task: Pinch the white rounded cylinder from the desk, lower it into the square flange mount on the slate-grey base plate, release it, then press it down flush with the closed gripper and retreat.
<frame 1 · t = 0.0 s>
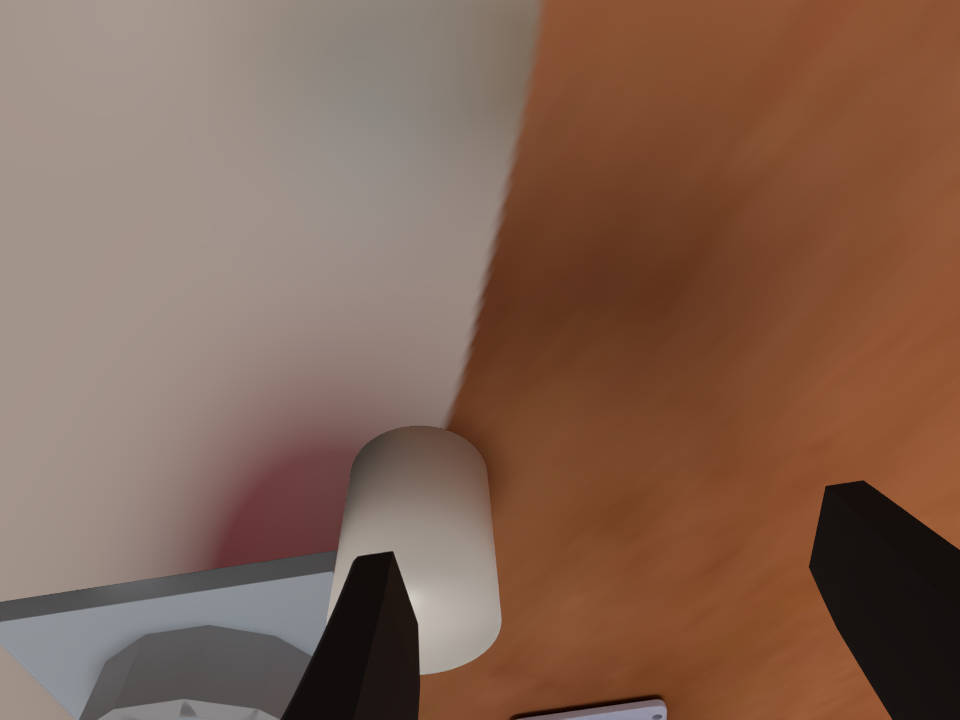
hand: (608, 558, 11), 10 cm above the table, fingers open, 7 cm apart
white rounded cylinder: (419, 479, 23), on the table
square flange mount: (229, 673, 29), on the table
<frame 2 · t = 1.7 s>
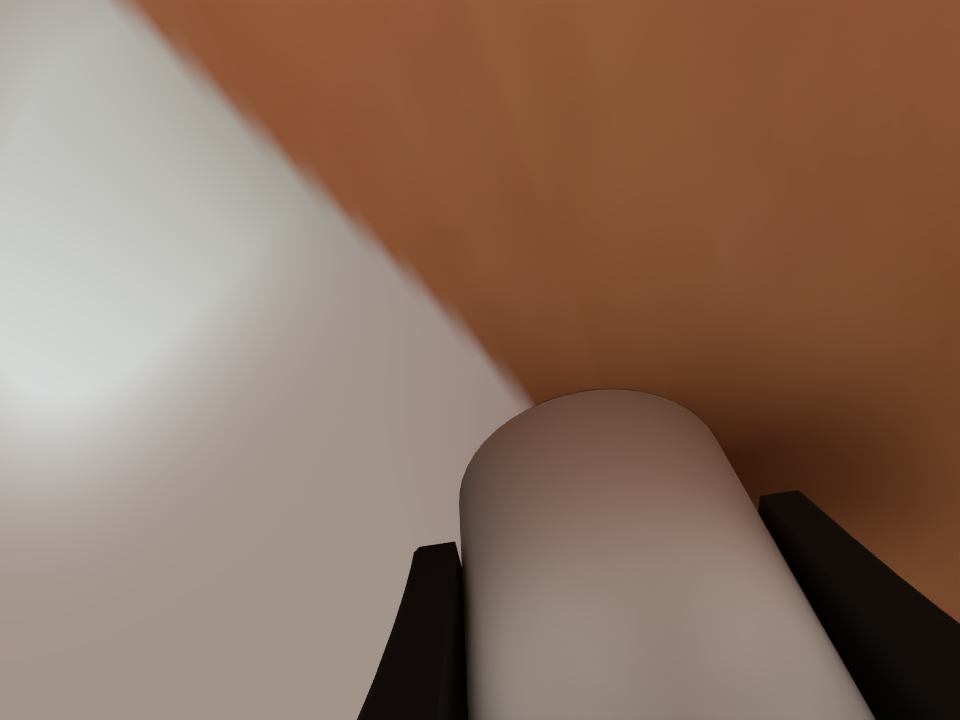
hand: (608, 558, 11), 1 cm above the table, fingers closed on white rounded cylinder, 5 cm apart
white rounded cylinder: (591, 496, 12), on the table, touching gripper
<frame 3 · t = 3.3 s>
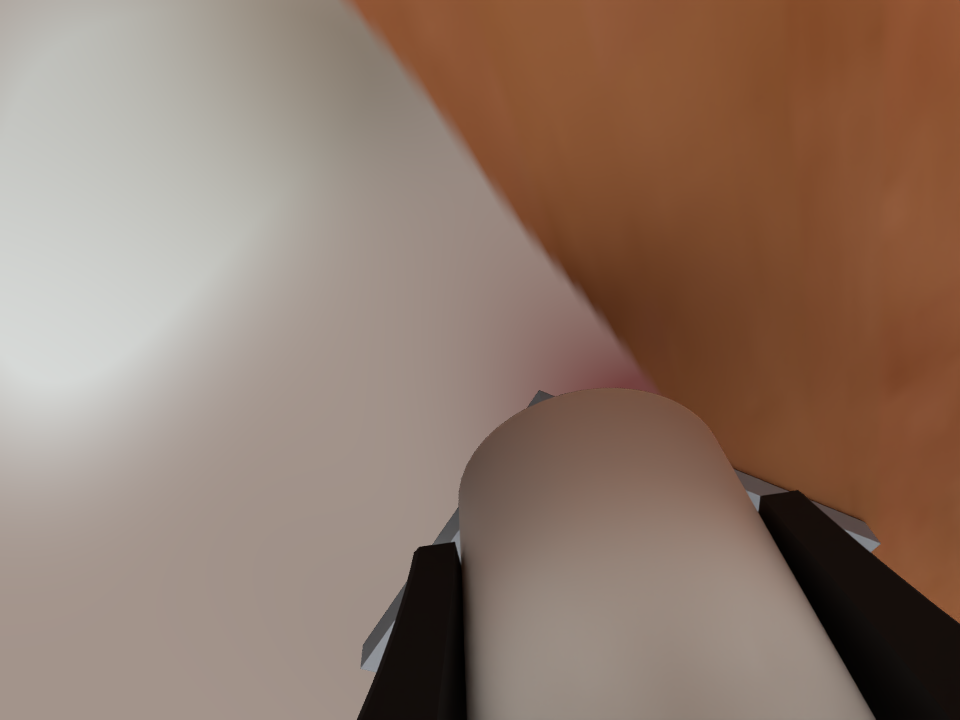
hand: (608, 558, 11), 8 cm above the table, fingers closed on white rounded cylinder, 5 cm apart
white rounded cylinder: (590, 495, 12), point 7 cm above the table, touching gripper
square flange mount: (602, 586, 24), on the table
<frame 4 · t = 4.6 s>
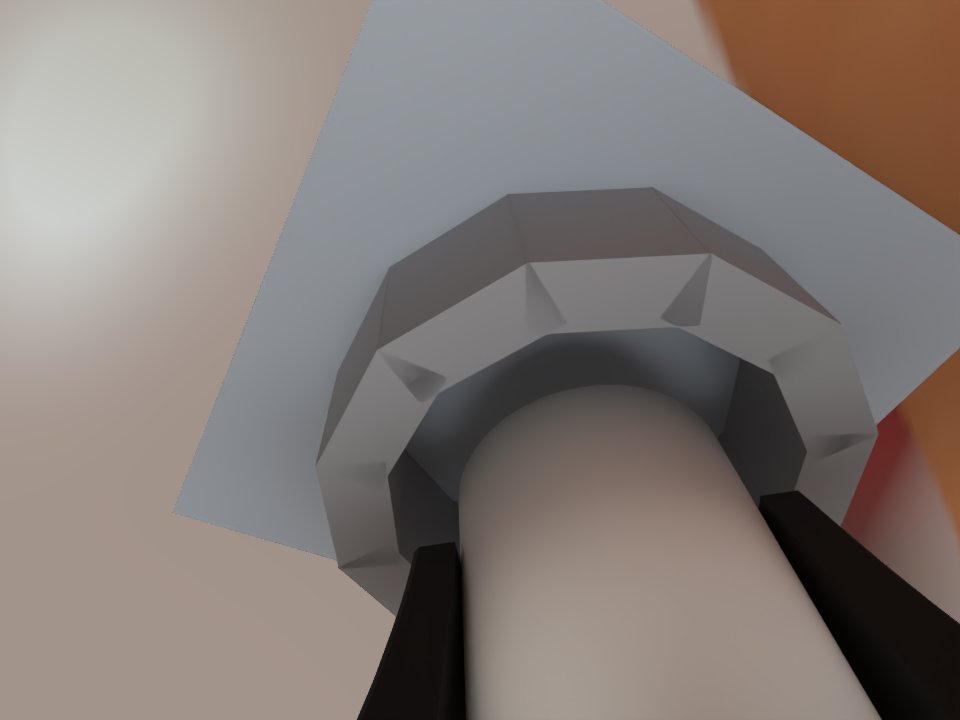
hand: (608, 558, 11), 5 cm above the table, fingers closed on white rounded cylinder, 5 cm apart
white rounded cylinder: (590, 494, 12), point 4 cm above the table, touching gripper
square flange mount: (560, 380, 15), on the table
when the fingers open (4 cm above the table, at t = 5.3 s): white rounded cylinder drops 2 cm, resting on square flange mount.
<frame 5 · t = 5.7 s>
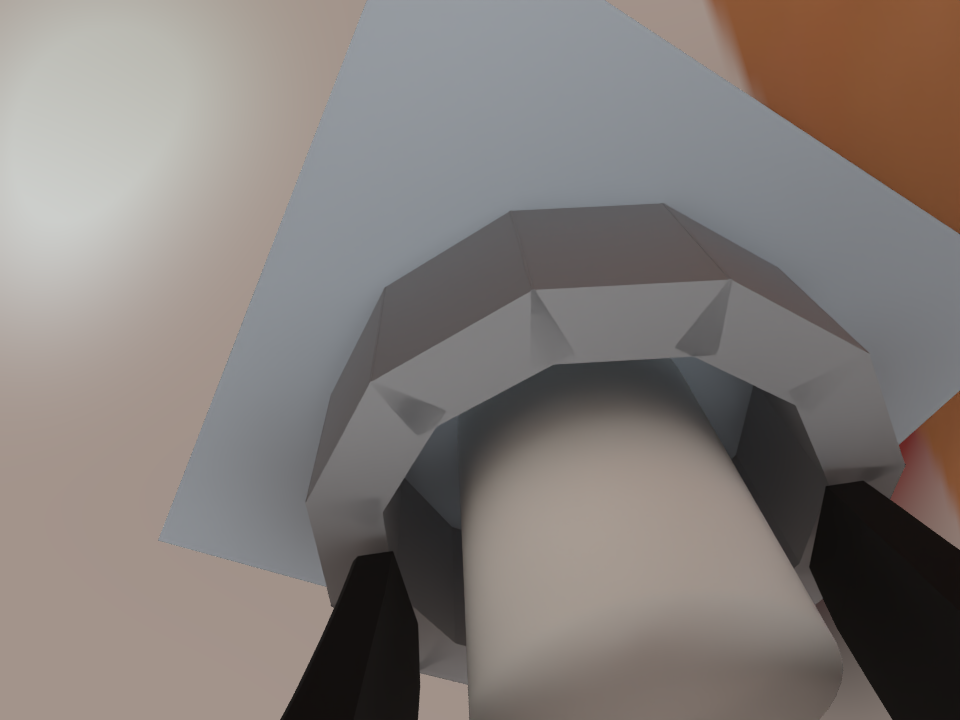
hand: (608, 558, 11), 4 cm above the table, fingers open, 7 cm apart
white rounded cylinder: (573, 428, 14), point 1 cm above the table, touching square flange mount
square flange mount: (564, 402, 14), on the table
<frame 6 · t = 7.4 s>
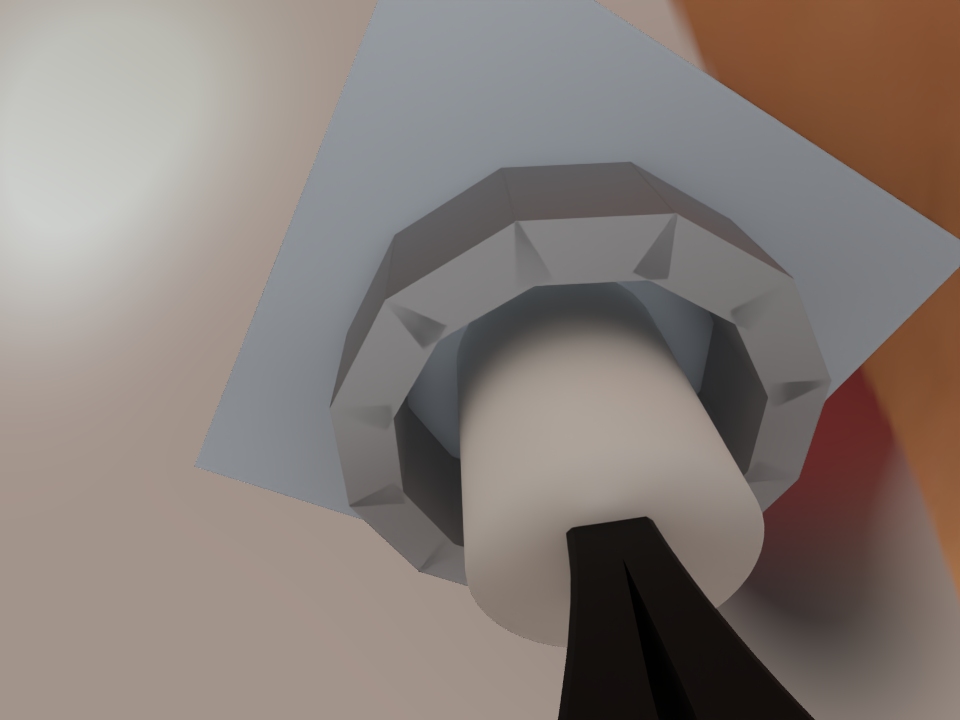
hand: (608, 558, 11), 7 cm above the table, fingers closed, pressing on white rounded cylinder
white rounded cylinder: (557, 363, 16), point 1 cm above the table, touching square flange mount, gripper
square flange mount: (551, 344, 16), on the table
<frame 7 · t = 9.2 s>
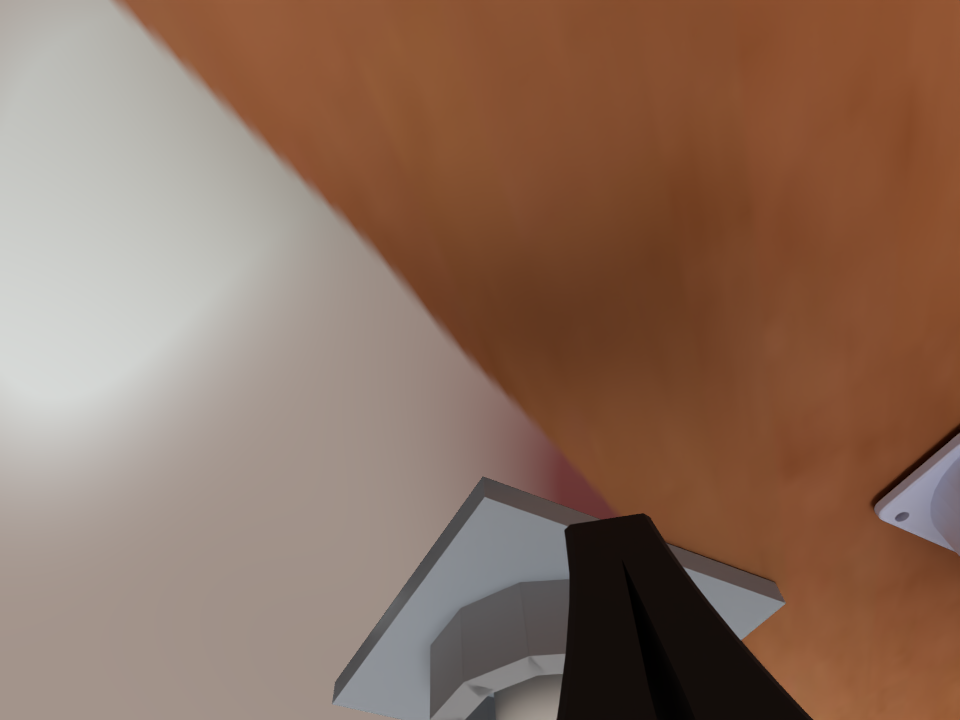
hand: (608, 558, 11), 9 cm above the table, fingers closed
white rounded cylinder: (550, 655, 27), point 1 cm above the table, touching square flange mount
square flange mount: (546, 634, 28), on the table
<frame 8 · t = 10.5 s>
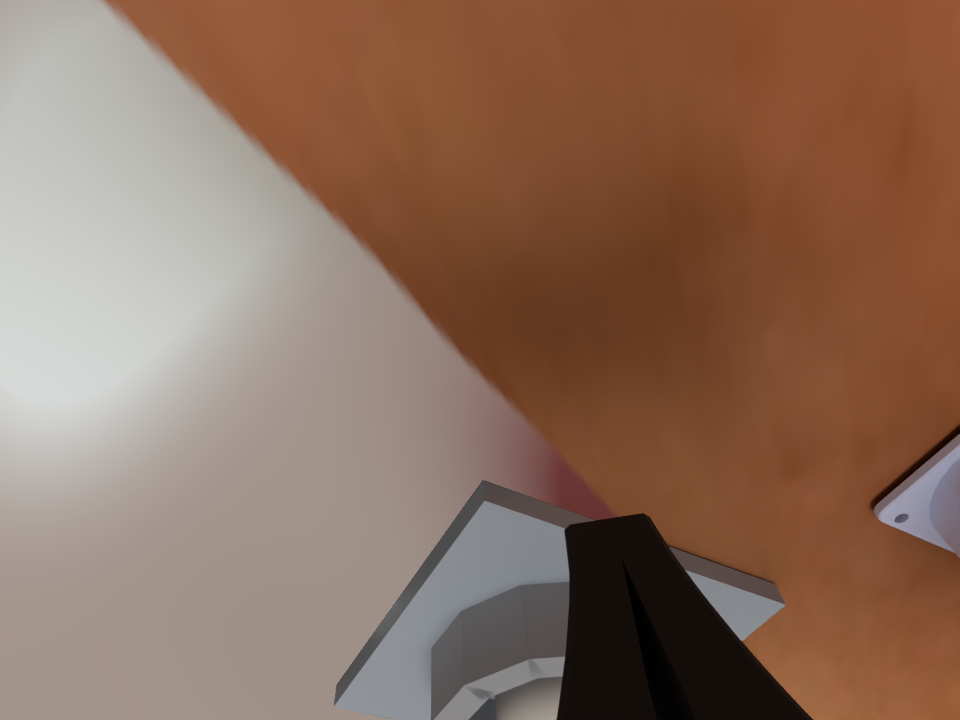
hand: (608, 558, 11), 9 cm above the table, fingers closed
white rounded cylinder: (551, 657, 27), point 1 cm above the table, touching square flange mount
square flange mount: (547, 636, 28), on the table
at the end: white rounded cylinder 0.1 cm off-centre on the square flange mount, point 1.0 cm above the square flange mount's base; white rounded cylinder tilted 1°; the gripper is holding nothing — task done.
